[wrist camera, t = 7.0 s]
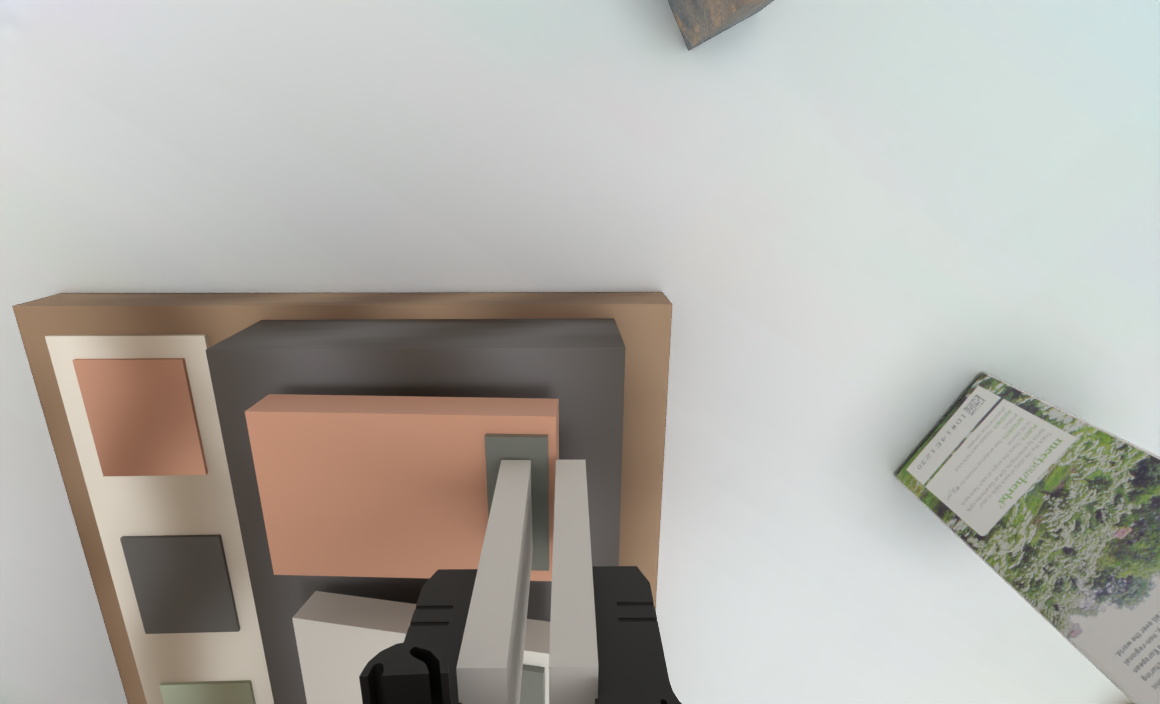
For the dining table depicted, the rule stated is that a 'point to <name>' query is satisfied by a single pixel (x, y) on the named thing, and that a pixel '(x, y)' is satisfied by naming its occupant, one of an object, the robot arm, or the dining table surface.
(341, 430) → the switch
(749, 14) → the rusty brown holder
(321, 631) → the switch middle
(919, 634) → the dining table surface
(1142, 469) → the syrup box
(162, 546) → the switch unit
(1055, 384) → the dining table surface
